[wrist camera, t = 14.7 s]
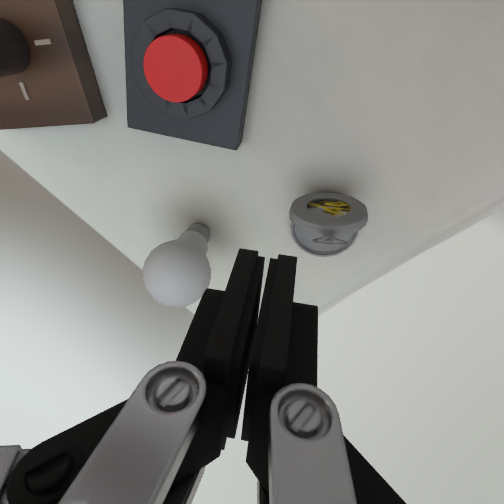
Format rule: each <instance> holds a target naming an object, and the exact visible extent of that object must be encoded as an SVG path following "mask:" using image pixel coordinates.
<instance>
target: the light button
mask: <svg viewBox="0 0 504 504" xmlns="http://www.w3.org/2000/svg"><path fill="white" fill-rule="evenodd" d="M143 66H144V73H145V77H146V79H147V82H148V83H149V85H150V87H151V88H152V90H153V91H154V92H155V93H156V94H157V95H159V96H160V97H161V98H163V99H165V100H167V101H170V102H184V101H187V100H189V99H190V98H192V97H193V96H195V95H196V94H197V93H199V92H200V91H201V90H202V88H203V87H204V85H205V83H206V80H207V76H208V64H207V59H206V56H205V54H204V52H203V50H202V49H201V47H200V46H199V45H198V44H197V43H196V42H195V41H194V40H193V39H192V38H190V37H188V36H186V35H183V34H170V35H165V36H161V37H158V38H156V39H155V40H154V41H152V42H151V44H150V45H149V46H148V48H147V50H146V52H145V55H144V63H143Z"/></svg>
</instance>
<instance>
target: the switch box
mask: <svg viewBox="0 0 504 504" xmlns="http://www.w3.org/2000/svg"><path fill="white" fill-rule="evenodd" d="M261 4H262V0H123V5H124V33H125V62H126V91H127V120H128V127H129V128H134V129H139V130H143V131H148V132H153V133H157V134H162V135H167V136H171V137H176V138H181V139H186V140H190V141H195V142H200V143H204V144H209V145H214V146H218V147H223V148H228V149H232V150H237V149H238V147H239V146H240V144H241V142H242V135H243V128H244V121H245V114H246V107H247V100H248V93H249V86H250V80H251V73H252V66H253V59H254V52H255V45H256V38H257V31H258V24H259V18H260V11H261ZM170 34H183V35H186V36H188V37H190V38H192V39H193V40H194V41H195V42H196V43H197V44H198V45H199V46H200V47H201V49H202V50H203V52H204V54H205V56H206V59H207V64H208V76H207V80H206V83H205V85H204V87H203V88H202V90H201V91H200V92H199V93H197V94H196V95H195V96H193V97H192V98H190V99H189V100H187V101H184V102H170V101H167V100H165V99H163V98H161V97H160V96H159V95H157V94H156V93H155V92H154V91H153V90H152V88H151V87H150V85H149V83H148V82H147V79H146V77H145V73H144V66H143V63H144V55H145V52H146V50H147V48H148V46H149V45H150V44H151V42H152V41H154V40H155V39H156V38H158V37H161V36H165V35H170Z"/></svg>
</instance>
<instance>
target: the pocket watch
mask: <svg viewBox="0 0 504 504" xmlns="http://www.w3.org/2000/svg"><path fill="white" fill-rule="evenodd" d="M289 214H290V219H291V221H292V223H291V233H292V237H293V239H294V241H295V242H296V244H297V245H298V246H299V247H300V248H301V249H302V250H304V251H305V252H307V253H309V254H312V255H315V256H321V257H326V256H333V255H337V254H339V253H342V252H343V251H345V250H347V249H348V248H349V247H350V246H351V245H352V244H353V243H354V241H355V239H356V237H357V234H358V231H359V230H360V229H362V228H363V227H364V226H365V225H366V223H367V219H368V213H367V208H366V207H365V205H364V204H363V203H362V202H360V201H359V200H357V199H355V198H353V197H350V196H346V195H343V194H337V193H327V192H322V193H311V194H307V195H304V196H301V197H299V198H297V199H296V200H294V202H293V203H292V205H291V208H290V213H289Z"/></svg>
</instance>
